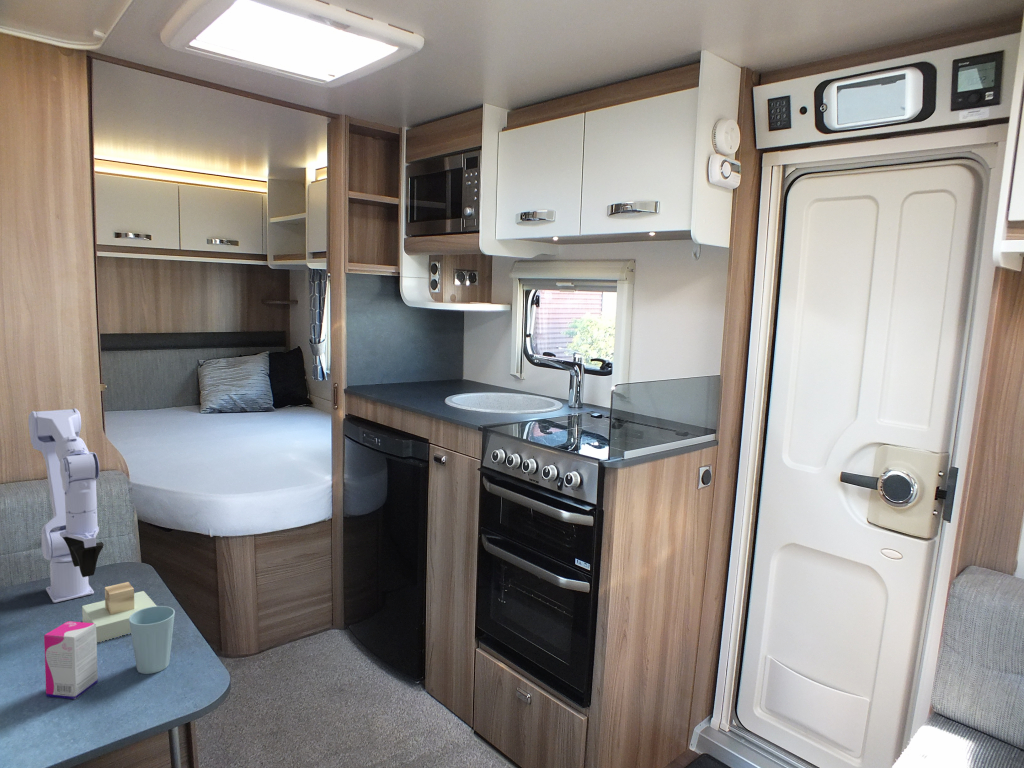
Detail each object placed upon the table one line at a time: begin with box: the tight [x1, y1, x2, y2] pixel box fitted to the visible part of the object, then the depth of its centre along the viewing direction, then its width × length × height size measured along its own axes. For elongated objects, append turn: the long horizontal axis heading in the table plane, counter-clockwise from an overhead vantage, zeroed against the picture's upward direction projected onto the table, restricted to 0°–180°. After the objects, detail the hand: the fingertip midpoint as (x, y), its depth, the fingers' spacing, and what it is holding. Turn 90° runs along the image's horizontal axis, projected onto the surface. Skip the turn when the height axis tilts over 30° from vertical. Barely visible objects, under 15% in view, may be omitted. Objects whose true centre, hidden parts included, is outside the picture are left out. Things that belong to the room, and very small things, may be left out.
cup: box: [129, 605, 176, 675], centre depth 127 cm, size 8×8×10 cm
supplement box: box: [43, 620, 99, 700], centre depth 118 cm, size 6×6×12 cm
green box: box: [81, 590, 157, 643], centre depth 143 cm, size 12×12×4 cm
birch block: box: [104, 581, 135, 615], centre depth 142 cm, size 4×4×4 cm
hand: (83, 570), depth 144 cm, fingers open, 7 cm apart
